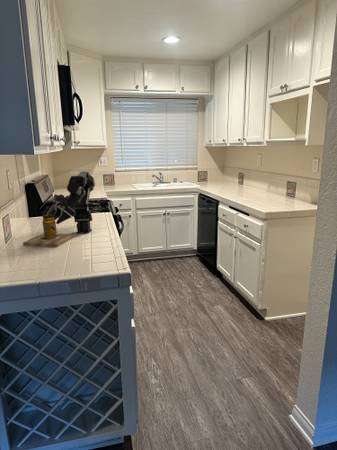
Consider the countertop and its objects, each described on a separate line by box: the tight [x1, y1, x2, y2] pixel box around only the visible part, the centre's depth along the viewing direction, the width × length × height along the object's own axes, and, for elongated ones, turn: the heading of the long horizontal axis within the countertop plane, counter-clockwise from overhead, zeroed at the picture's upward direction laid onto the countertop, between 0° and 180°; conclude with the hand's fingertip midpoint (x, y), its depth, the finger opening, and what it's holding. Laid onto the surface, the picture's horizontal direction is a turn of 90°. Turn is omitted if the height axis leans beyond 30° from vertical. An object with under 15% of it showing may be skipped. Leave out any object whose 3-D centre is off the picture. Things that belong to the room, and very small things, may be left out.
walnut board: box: [22, 233, 74, 248], centre depth 157 cm, size 18×16×2 cm
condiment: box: [39, 213, 59, 241], centre depth 155 cm, size 7×8×12 cm
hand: (54, 221), depth 157 cm, fingers open, 9 cm apart
